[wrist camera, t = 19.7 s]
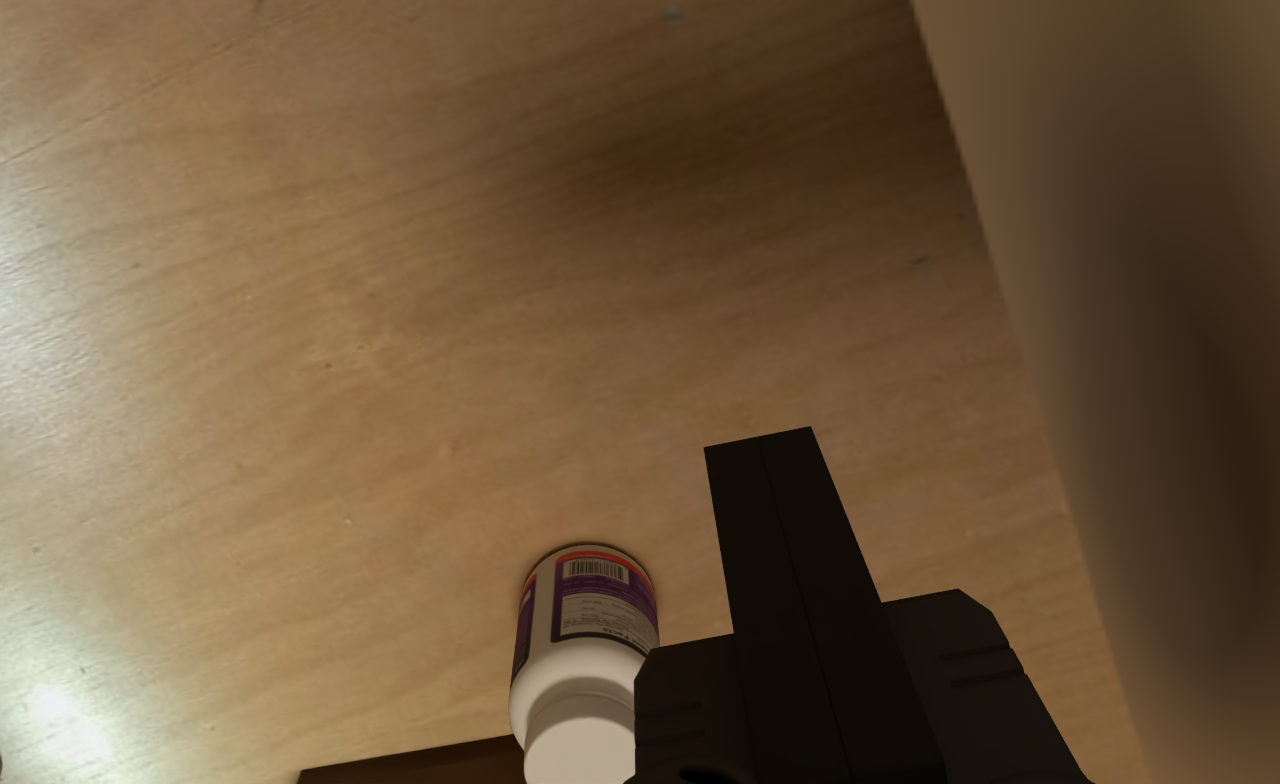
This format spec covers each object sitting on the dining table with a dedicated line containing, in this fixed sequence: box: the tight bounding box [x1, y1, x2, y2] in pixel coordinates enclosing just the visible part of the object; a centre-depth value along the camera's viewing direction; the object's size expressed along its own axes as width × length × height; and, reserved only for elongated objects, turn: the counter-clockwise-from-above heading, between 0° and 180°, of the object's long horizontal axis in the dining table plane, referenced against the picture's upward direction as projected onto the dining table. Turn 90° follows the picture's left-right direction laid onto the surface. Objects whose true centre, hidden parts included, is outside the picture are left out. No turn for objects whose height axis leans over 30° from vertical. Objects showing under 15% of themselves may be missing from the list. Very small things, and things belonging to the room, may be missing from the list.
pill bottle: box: [509, 545, 660, 784], centre depth 38 cm, size 5×5×10 cm
